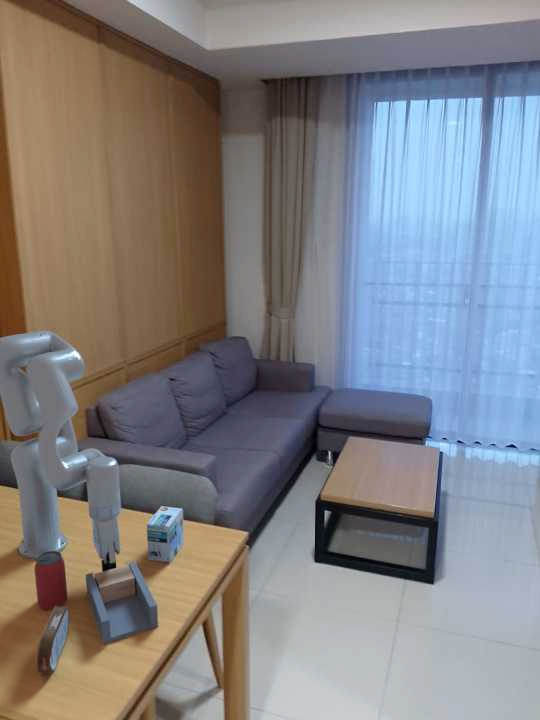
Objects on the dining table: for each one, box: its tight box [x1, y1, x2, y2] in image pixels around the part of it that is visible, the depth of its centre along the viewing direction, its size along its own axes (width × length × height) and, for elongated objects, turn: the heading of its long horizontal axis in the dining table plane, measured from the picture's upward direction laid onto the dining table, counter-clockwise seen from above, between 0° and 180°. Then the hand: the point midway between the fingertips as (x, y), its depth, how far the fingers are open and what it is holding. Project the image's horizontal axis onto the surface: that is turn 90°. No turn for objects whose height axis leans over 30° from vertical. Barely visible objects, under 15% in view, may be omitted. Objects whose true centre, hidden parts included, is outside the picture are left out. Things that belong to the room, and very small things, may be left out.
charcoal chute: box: [85, 561, 159, 645], centre depth 130 cm, size 19×12×6 cm, turn 28°
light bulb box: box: [146, 505, 185, 563], centre depth 153 cm, size 11×7×11 cm, turn 168°
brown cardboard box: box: [93, 564, 135, 603], centre depth 135 cm, size 6×8×4 cm
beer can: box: [34, 551, 68, 611], centre depth 132 cm, size 7×7×12 cm
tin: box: [36, 605, 70, 674], centre depth 116 cm, size 15×3×8 cm, turn 5°
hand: (109, 574), depth 140 cm, fingers closed
